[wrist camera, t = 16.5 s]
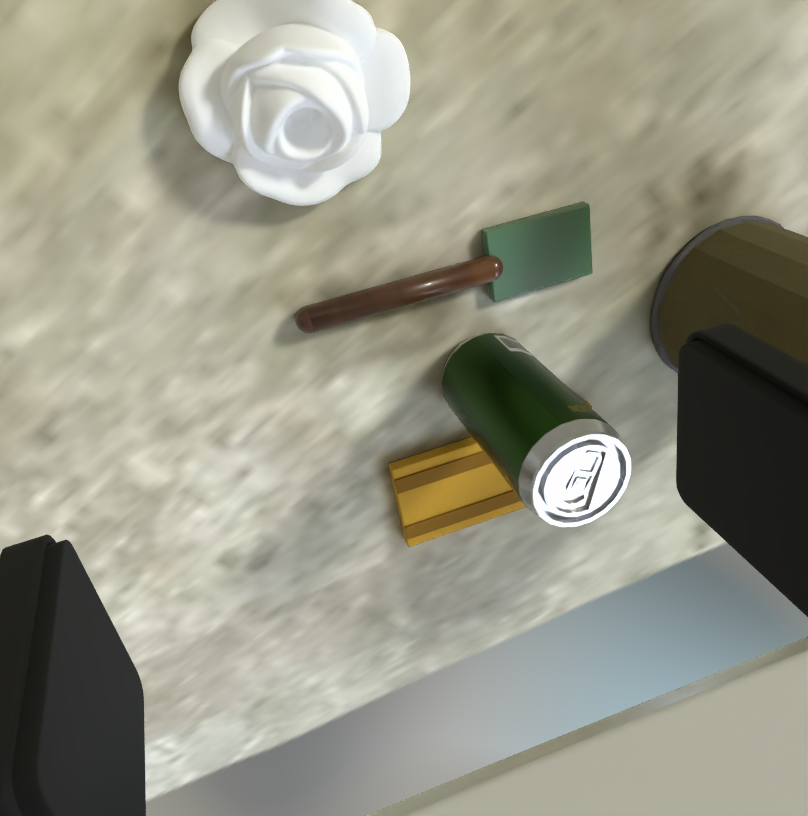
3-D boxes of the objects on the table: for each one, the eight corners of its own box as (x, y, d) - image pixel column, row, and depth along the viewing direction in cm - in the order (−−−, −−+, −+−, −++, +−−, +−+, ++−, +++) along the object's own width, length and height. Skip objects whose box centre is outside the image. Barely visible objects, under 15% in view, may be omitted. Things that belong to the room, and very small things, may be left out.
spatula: (302, 352, 41) (307, 363, 40) (284, 282, 39) (288, 291, 38) (586, 270, 44) (599, 277, 43) (583, 200, 42) (596, 207, 41)
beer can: (455, 319, 43) (555, 421, 33) (536, 337, 45) (654, 438, 35) (424, 405, 45) (510, 526, 35) (504, 418, 47) (606, 535, 37)
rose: (402, -67, 29) (452, 182, 34) (371, -60, 33) (421, 164, 38) (145, 6, 28) (237, 254, 33) (143, 4, 32) (226, 228, 37)
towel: (404, 539, 49) (409, 548, 48) (388, 463, 46) (392, 471, 45) (589, 476, 51) (596, 484, 50) (585, 399, 48) (592, 406, 47)
